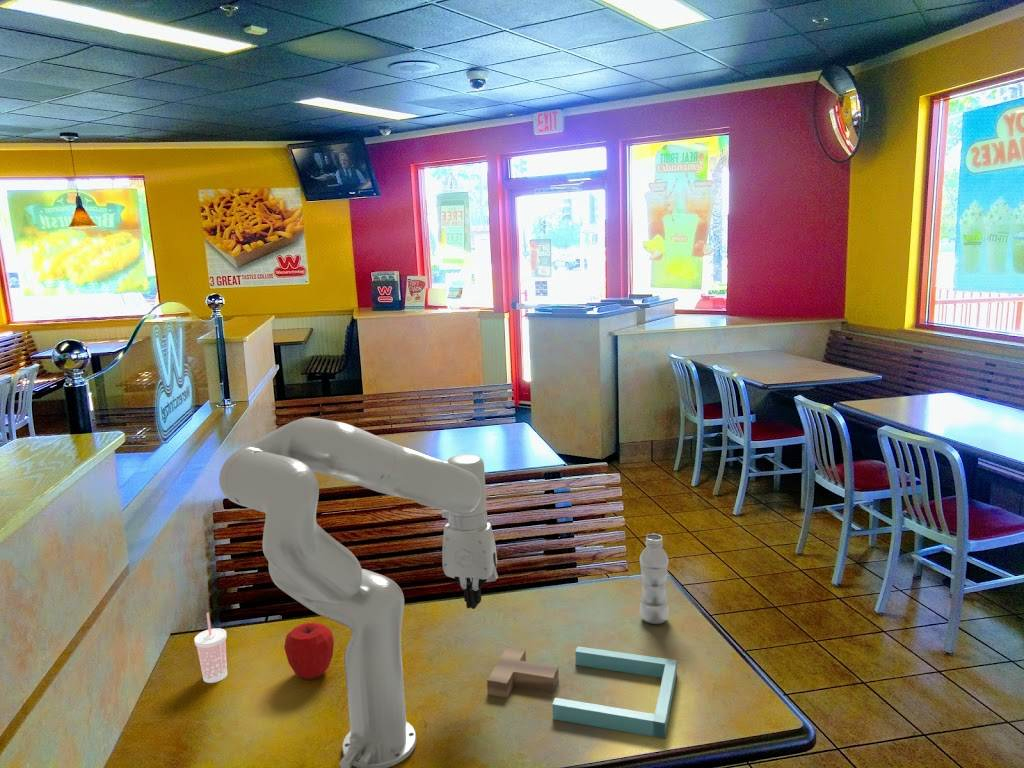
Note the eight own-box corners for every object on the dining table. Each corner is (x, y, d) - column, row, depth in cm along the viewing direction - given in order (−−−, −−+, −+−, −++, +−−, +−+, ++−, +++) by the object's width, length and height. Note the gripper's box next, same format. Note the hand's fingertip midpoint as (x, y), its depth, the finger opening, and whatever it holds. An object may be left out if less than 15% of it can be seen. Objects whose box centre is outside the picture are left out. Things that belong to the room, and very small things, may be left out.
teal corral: (664, 738, 127) (664, 723, 126) (552, 719, 133) (552, 704, 132) (676, 674, 145) (676, 660, 145) (577, 659, 152) (577, 646, 151)
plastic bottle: (647, 630, 162) (647, 544, 158) (634, 615, 169) (634, 533, 165) (674, 625, 164) (674, 540, 160) (660, 611, 170) (660, 529, 167)
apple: (346, 671, 150) (342, 622, 148) (306, 693, 143) (301, 642, 141) (317, 655, 157) (312, 608, 154) (277, 676, 149) (272, 627, 147)
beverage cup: (218, 664, 154) (210, 603, 152) (237, 672, 151) (230, 609, 148) (192, 679, 149) (184, 616, 146) (212, 688, 146) (204, 623, 143)
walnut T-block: (548, 704, 137) (547, 689, 137) (487, 694, 141) (487, 680, 141) (563, 669, 149) (563, 655, 148) (507, 660, 152) (506, 647, 152)
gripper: (424, 523, 141) (431, 610, 145) (497, 529, 136) (502, 619, 140) (440, 508, 148) (446, 592, 152) (510, 514, 143) (514, 600, 147)
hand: (473, 605), depth 146 cm, fingers closed
